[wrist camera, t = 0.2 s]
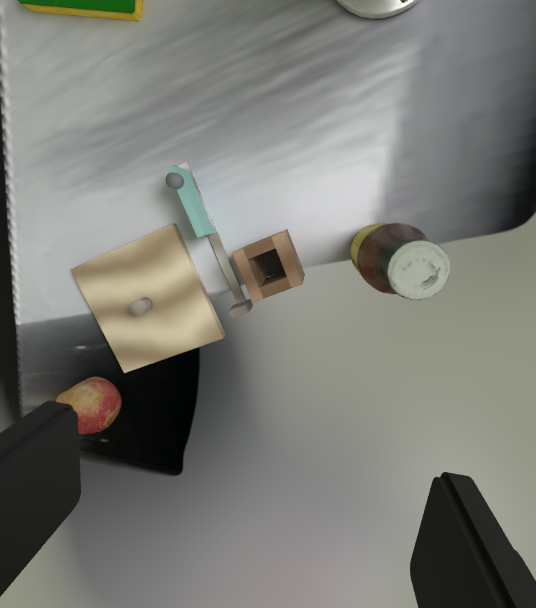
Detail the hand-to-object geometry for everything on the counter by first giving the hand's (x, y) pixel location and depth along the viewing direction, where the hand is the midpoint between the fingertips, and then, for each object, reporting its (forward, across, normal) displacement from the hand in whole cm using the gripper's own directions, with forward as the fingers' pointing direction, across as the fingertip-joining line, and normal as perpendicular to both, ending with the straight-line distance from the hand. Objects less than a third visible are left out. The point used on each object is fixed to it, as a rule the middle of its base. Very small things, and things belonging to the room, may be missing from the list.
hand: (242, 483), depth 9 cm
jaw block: (+36, +4, -1) cm, 36 cm away
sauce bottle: (+36, -8, -4) cm, 38 cm away
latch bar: (+36, +14, -7) cm, 39 cm away
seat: (+36, +19, +3) cm, 41 cm away
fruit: (+37, +27, +22) cm, 50 cm away
